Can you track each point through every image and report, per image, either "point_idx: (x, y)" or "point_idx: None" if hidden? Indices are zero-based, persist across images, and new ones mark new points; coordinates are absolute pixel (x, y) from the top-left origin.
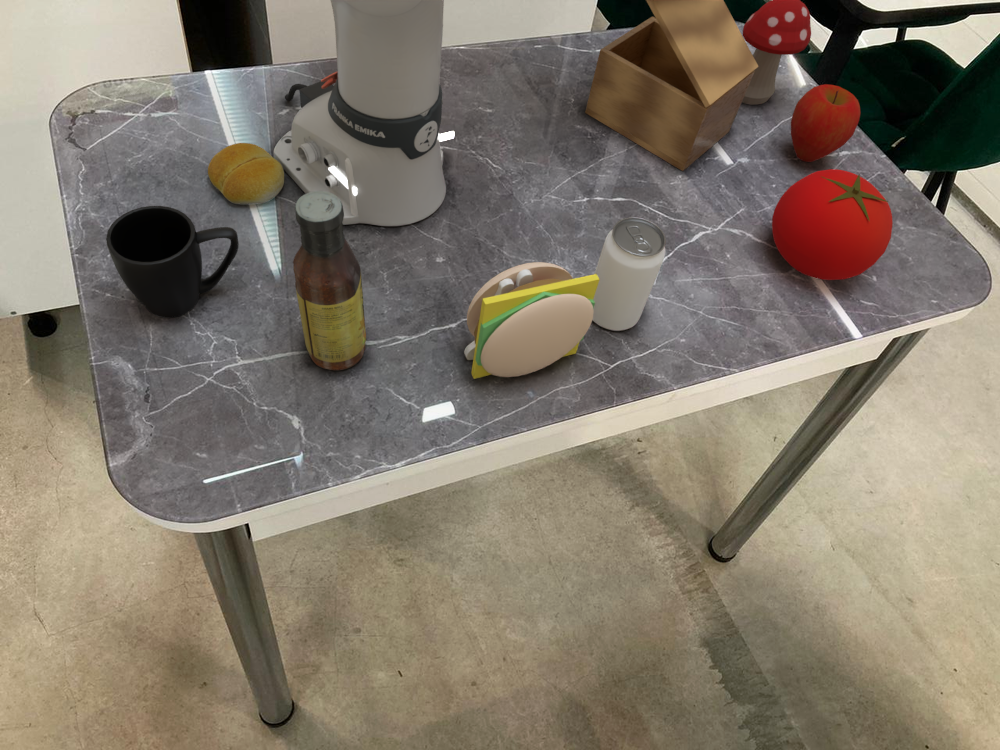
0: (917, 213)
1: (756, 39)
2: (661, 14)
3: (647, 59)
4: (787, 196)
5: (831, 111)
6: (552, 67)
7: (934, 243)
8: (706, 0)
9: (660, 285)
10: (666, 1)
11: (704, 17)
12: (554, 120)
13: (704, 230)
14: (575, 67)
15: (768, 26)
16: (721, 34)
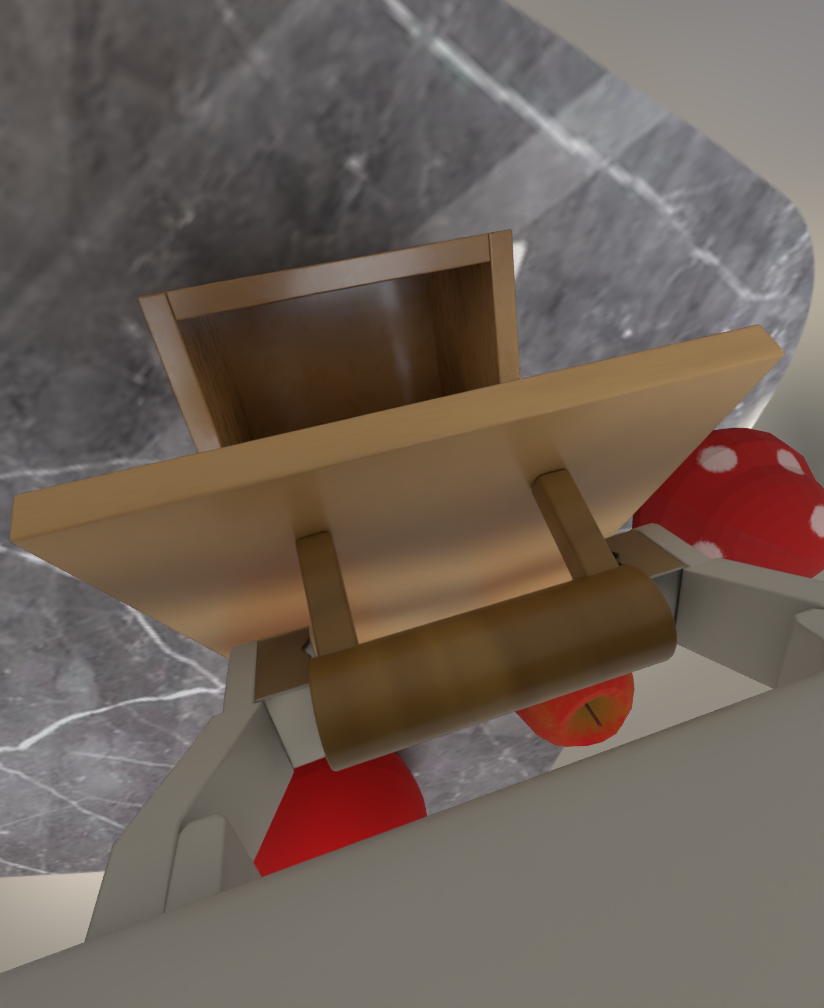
0: (546, 745)
1: (648, 519)
2: (179, 627)
3: (445, 280)
4: (289, 830)
5: (547, 735)
6: (227, 9)
7: (510, 784)
8: (529, 548)
9: (34, 753)
10: (254, 591)
11: (457, 585)
12: (70, 264)
13: (209, 686)
14: (307, 71)
15: (691, 545)
16: (486, 599)
